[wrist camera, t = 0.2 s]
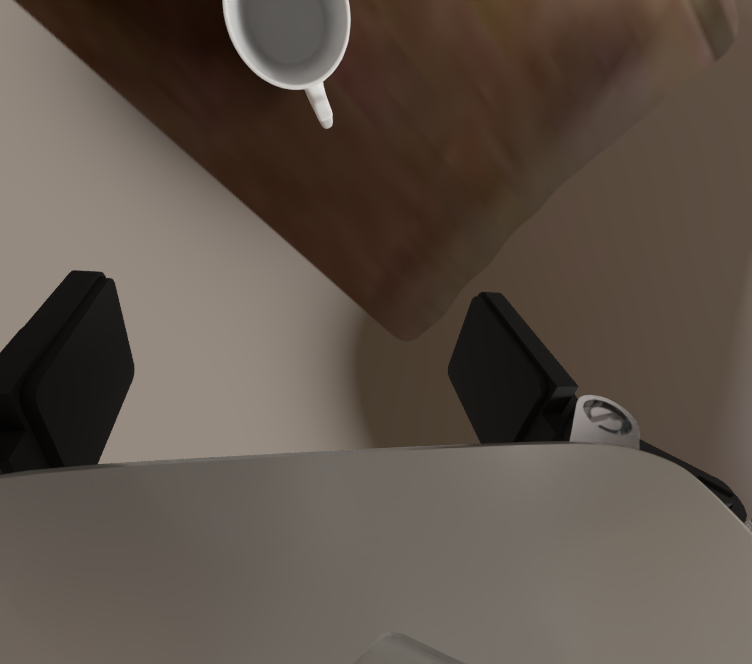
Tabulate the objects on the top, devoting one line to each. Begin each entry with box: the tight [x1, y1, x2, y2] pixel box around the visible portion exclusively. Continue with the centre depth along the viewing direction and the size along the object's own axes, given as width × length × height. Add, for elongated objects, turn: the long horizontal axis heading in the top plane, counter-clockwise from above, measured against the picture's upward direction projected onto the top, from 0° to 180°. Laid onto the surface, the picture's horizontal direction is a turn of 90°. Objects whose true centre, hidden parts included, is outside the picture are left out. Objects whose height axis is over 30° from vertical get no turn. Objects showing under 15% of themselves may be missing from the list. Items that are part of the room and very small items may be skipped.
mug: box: [222, 0, 350, 129], centre depth 27 cm, size 10×7×12 cm, turn 19°
